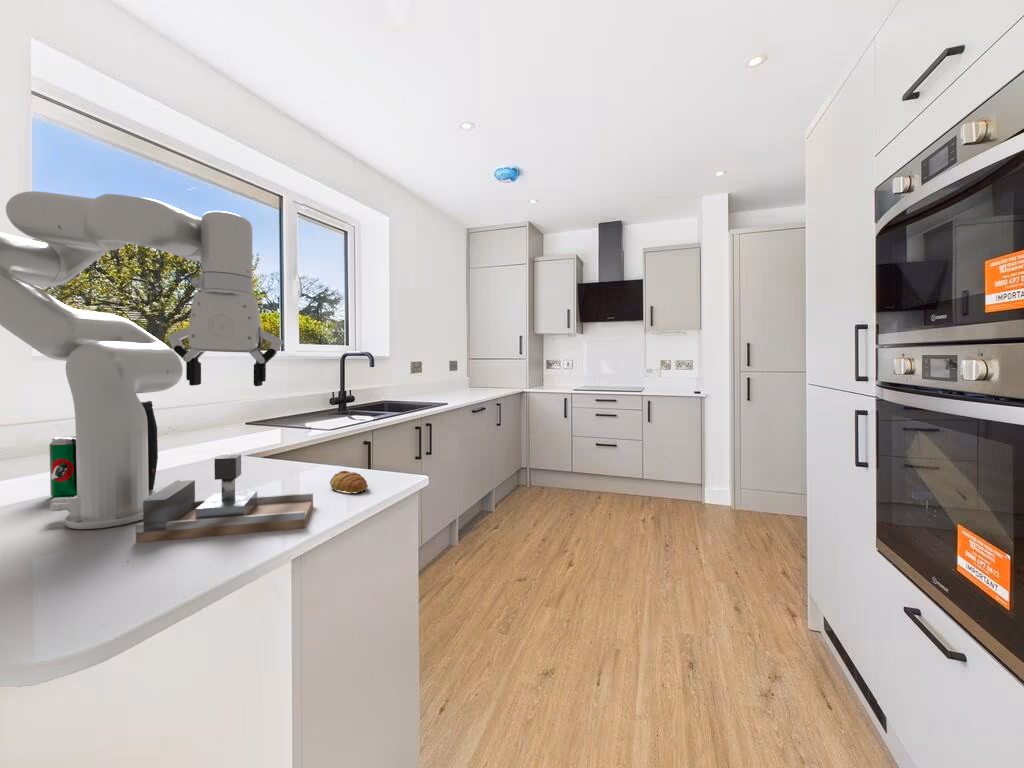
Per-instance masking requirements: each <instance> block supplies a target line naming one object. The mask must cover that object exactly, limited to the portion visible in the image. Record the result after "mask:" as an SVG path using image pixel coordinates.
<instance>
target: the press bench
mask: <svg viewBox="0 0 1024 768" xmlns="http://www.w3.org/2000/svg"><path fill="white" fill-rule="evenodd" d="M206 500H207V499H197V500H196V480H195V479H194V480H193V479H191V480H189V479H188V480H175V481H174V482H172V483H170V484H169V485H167V486H164V487H163V488H162V489H160V490H159V491H157V492H155V493H153V494H152V495H150V496H149V498H147V499H145V500H144V501H143V519H142V520H143V523H142V522H141V523H137V524H135V543H145V542H153V541H154V542H156V541H167V540H178V539H180V540H182V539H192V538H202V537H203V538H204V537H211V536H212V537H213V536H214V537H215V536H225V535H226V536H227V535H236V534H237V535H238V534H247V533H261V532H272V531H273V532H275V531H283V530H293V529H294V530H296V529H304V528H306V525H307V522H308V519H309V518H310V515H311V513H312V510H313V507H314V492H306V493H305V492H303V493H289V494H277V495H274V494H273V495H263V496H261V495H257V504H256V505H255V507H254V508H253V509H252V510H251V512H250V513H249V514H248V515H245V516H232V517H219V518H206V519H195V509H196V508H197V507H199V506H200V505H201V504H202V503H203V502H204V501H206Z"/></svg>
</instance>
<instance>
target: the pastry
mask: <svg viewBox="0 0 1024 768" xmlns="http://www.w3.org/2000/svg"><path fill="white" fill-rule="evenodd" d="M329 485H330V487H331V489H332V488H333V489H332V490H334V489H336V490H340V491H346V492H358V493H360V491H361V492H364V491H363V490H365V489H366V490H367V489H368V487H369V485H368V482H367V480H366V479H365V477H363V476H362V475H361V474H360V473H357V472H355V471H353V472H352V471H348V470H340V471H339V472H338V473H335V474H334V475H333V476H332V477H331V479H330V481H329Z"/></svg>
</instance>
